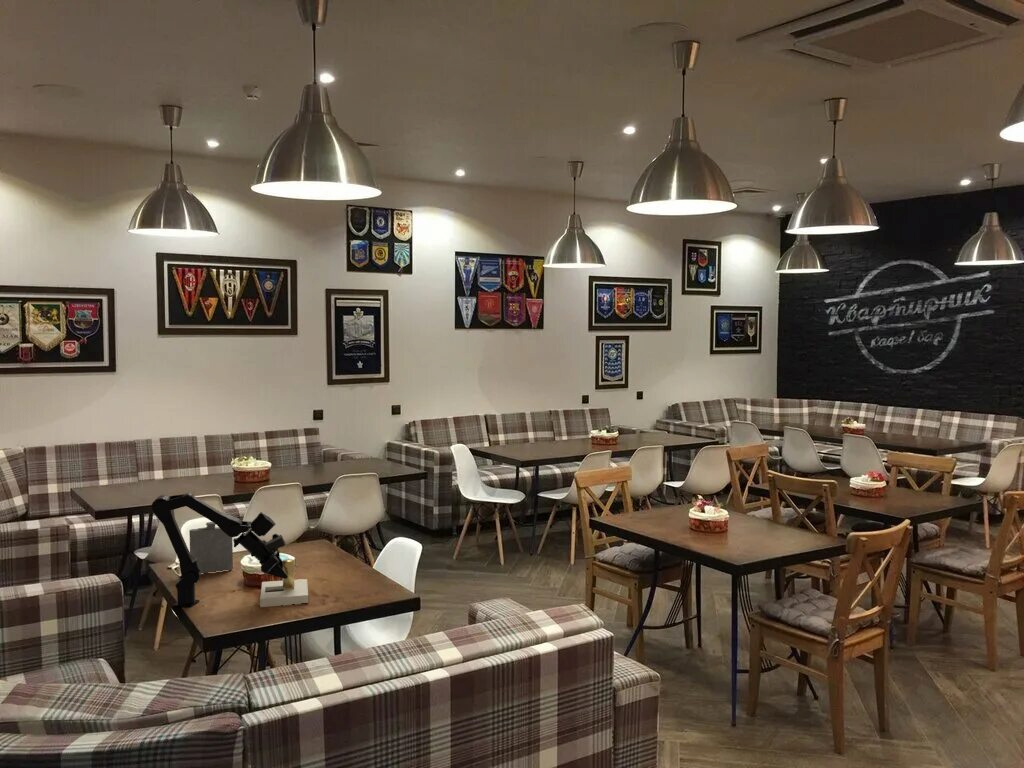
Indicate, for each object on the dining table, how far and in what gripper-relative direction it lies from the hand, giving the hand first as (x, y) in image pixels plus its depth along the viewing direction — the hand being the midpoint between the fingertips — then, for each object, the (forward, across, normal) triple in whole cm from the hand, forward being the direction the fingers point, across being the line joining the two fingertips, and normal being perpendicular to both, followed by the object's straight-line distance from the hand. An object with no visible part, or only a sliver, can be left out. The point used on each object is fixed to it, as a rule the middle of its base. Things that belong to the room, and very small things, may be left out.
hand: (287, 574), depth 298 cm
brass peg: (+6, 0, +5) cm, 8 cm away
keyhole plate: (+4, 0, +7) cm, 8 cm away
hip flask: (-14, +39, +26) cm, 49 cm away
